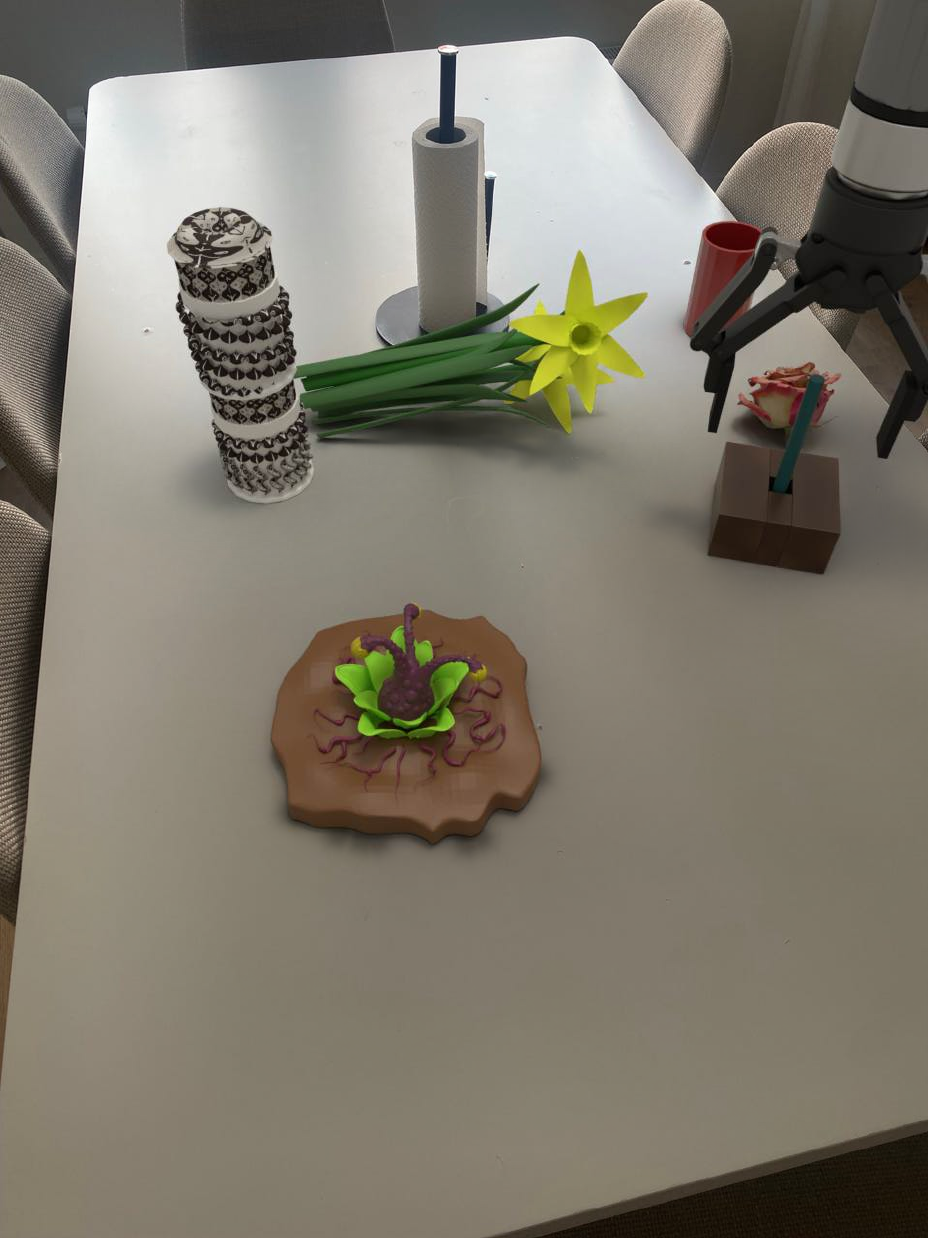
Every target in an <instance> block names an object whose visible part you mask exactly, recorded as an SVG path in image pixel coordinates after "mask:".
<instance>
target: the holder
mask: <svg viewBox="0 0 928 1238" xmlns="http://www.w3.org/2000/svg"><path fill="white" fill-rule="evenodd" d="M784 452H785V449H778V448H771V447H765V446H758V445H752V444H745V443H739V442H732V441H726V442H725V445H724V448H723V451H722V456H721V459H720V464H719V467H718V471H717V474H716V478H715V481H714V491H713V500H712V509H711V518H710V529H709V537H708V547H707V548H708V549H707V556H711V557H718V558H723V559H730V560H735V561H741V562H747V563H755V564H760V565H766V566H772V567H777V568H784V569H789V570H796V571H800V572H801V571H802V572H808V573H814V574H820V575H824V574H825V571H826V568H827V567H828V565H829V563H830V559H831V558H832V555H833V553H834V550H835V548H836V546H837V543H838V542H839V539H840V536H841V535H842V531H841V530H842V527H841V492H840V491H841V490H840V488H841V487H840V459H839V458H838V457H833V456H827V455H826V456H825V455H819V454H812V453H806V452H800V453H799V456H798V459H797V462H796V465H795V468H794V471H793V473H792V476H791V479H790V482H789V485H788V488H787V491H786V493H785V494H784V493H778V492H771V491H772V488H773V485H774V482H775V479H776V476H777V473H778V470H779V467H780V464H781V461H782V458H783V455H784Z"/></svg>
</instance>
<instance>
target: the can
mask: <svg viewBox="0 0 928 1238" xmlns="http://www.w3.org/2000/svg"><path fill="white" fill-rule="evenodd" d="M762 230H763V229H761V228H759V227H757V226H755V225H753V224H750V223H746V222H744V221H743V222H742V221H736V220H735V221H734V220H722V221H717V222H713V223H710V224H709V225H706V226H705V227H704V228H703V229H702V232H701V236H700V241H699V247H698V251H697V257H696V261H695V266H694V271H693V277H692V282H691V285H690V292H689V296H688V301H687V306H686V311H685V316H684V322H683V330H684V332H685V333H686V335H688V337H690V338H691V333H692V327H693V325H694V323H695V322H696V321H697V320H698V319H699V318H700V316H701V315H702V314H703V313H704V312H705V310H706V309H707V308H708V307H709V306H710V304H711V303H712V302H713V301H714V300H715V299H716V297H717V296H718V295H719V294H720V293H721V291H722V290H723V289H724V288H725V287H726V285H727V284H728V283H729V282H730V281H731V280H732V278H733V277H734V276H735V275H736V274H737V272H738V271H739V270H740V269H741V268H742V266H743V265H744V264H745V263H746V262H747V261H748V259H749V258H750V257H751V256H752V255H753V252H754V249H755V247H756V244H757V242H758V239H759V236H760V234H761V232H762ZM755 292H756V290H755V291H754V292H753V294H752V295H751V296H750V297H749V298H748V299H747V300H746V302H745V303H744V304H743V305H742V306H741V307H740V308H739V309H738V311H737V312H736V313H735V314H734V315H733V316H732V317H731V319H730V320H729V321H728V322H727V323H726V324H725V325H724V327H723V328H725V327H726V326H727V325H729V324H730V323H731V322H733V321H734V320H736V319H737V318H738V317H740V316H741V315H743V314H744V313H745V312H747V311H748V310H749V309H751V308H752V304H753V299H754V296H755ZM723 328H722V329H723ZM722 329H721V330H722Z"/></svg>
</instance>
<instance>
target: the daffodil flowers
mask: <svg viewBox="0 0 928 1238" xmlns="http://www.w3.org/2000/svg"><path fill="white" fill-rule="evenodd" d="M539 285H541V283H536V284H535V285H533V286H531V287H530V288H529V289H527V290H526V291H524V292H523V293H522V294H520V295H519V296H517V297H516V298H514V299H513V300H511V301H509V302H507V303H506V304H503V305H502V306H499V307H498V308H496V309H494V310H491V311H489V312H487V313H484V314H482V315H479V316H476V317H473V318H470V319H468V320H466V321H463V322H460V323H457V324H455V325H452V326H448V327H446V328H443V329H439V330H437V331H434V332H430V333H426V334H424V335H421V336H418V337H415V338H411V339H409V340H406V341H403V342H400V343H396V344H392V345H389V346H385V347H382V348H378V349H375V350H371V351H368V352H364V353H360V354H355V355H354V354H353V355H349V356H343V357H337V358H333V359H332V358H331V359H327V360H322V361H316V362H311V363H306V364H301V365H296V367H297V371H296V373H295V375H294V377H293V379H294V380H295V379H300V382H301V384H302V386H303V389H304V391H305V392H302V393H300V394H299V402H300V403H302V405H303V410H307V409H310V410H311V411H312V412H316V413H317V418H315V419H312V420H311V423H312V424H314V425H320V424H327V423H332V422H333V423H334V422H339V421H345V420H352V419H358V418H366V417H368V418H369V417H376V416H377V417H379V416H386V415H387V416H388V415H391V416H388V417H384V418H383V417H382V418H380V419H376V420H372V421H368V422H363V423H360V424H355V425H350V426H346V427H341V428H337V429H331V430H327V431H322V432H318V433H316V434H315V435H316V437H317V438H319V439H322V438H327V437H332V436H336V435H343V434H346V433H350V432H351V433H352V432H355V431H359V430H365V429H369V428H374V427H377V426H380V425H384V424H389V423H392V422H397V421H400V420H401V421H402V420H405V419H409V418H413V417H417V416H422V415H425V414H429V413H433V412H456V411H479V412H505V413H511V414H514V415H517V416H522V417H525V418H528V419H529V420H532V421H535V422H536V423H539V424H540V425H543V426H545V427H546V428H550V429H552V430H554V431H556V428H554V427H552V426H551V425H549V424H548V423H546V422H544V421H543V420H541V419H540V418H538V417H536V416H534V415H532V414H530V413H528V412H526V411H524V410H520V409H515V408H512V407H510V406H509V407H508V406H497V405H494V406H493V405H468V404H473V403H476V402H479V401H482V400H483V401H484V400H487V401H489V400H491V401H504V402H503V404H505V405H511V404H514V403H528V400H526V399H527V398H529V397H531V396H532V395H534V394H536V393H537V392H539V391H541V392H542V394H543V396H544V398H545V400H546V401H547V403H548V406H549V407H550V409H551V411H552V412H553V414H554V415H555V417H556V419H557V420H558V421H559V423H560V425H561V426H562V427H563V429H564V430H565V432H566V433H567V434H568V435H571V433H572V430H573V429H572V428H573V425H572V415H571V403H570V396H569V392H568V386H574V387H575V389H576V391H577V393H578V395H579V398H580V400H581V402H582V405H583V406H584V408H585V410H586V411H587V413H589V414H592V413H593V409H594V405H595V404H594V403H595V398H596V391H597V386H598V385H605V384H612V383H615V382H616V381H615V379H614V378H613V377H612V376H611V375H609V374H608V373H606V372H605V371H603V370H601V369H599V368H598V364H599V365H602V366H603V367H605V368H608V369H609V370H612V371H614V372H617V373H620V374H623V375H627V376H630V377H634V378H637V379H644V378H646V374H645V372H644V371H643V370H642V368H641V367H640V366H639V365H638V363H637V362H636V360H635V359H634V358H633V357H632V356H631V355H630V354H629V353H628V351H626V349H624V348H623V347H622V346H621V344H619V342H617V341H616V340H615V338H614V337H613V336H612V335H610V334H609V333H611V332H612V331H613V330H615V329H616V328H618V327H619V326H620V325H621V324H623V323H624V322H626V321H627V320H628V319H629V318H630V317H631V316H632V315H633V314H634V313H635V312H636V311H637V310H638V309H639V308H640V306H642V305H643V303H644V302H645V301H646V299H647V298H648V295H649V292H645V291H644V292H640V293H639V292H638V293H634V294H630V295H625V296H622V297H618V298H614V299H612V300H609V301H606V302H603V303H600V304H598V305H595V299H594V289H593V282H592V277H591V275H590V271H589V268H588V264H587V261H586V257H585V255H584V253H583V252H582V250H581V249H578V250H577V252H576V254H575V258H574V262H573V265H572V269H571V273H570V276H569V281H568V287H567V293H566V297H565V305H564V310H563V311H562V312H560V313H559V314H548V312H547V310H546V307H545V306H544V303H543V301H542V300H540V299H539V300H538V302H537V304H536V307H535V310H534V313H533V314H532V315H527V316H522V317H519V318H515V319H514V320H513V319H512V320H511V321H510V322H508V325H507V326H506V327H504V328H503V330H501V331H496V332H487V333H485V332H484V333H479V334H472V335H466V334H468V333H471V332H473V331H476V330H479V329H481V328H485V327H487V326H489V325H492V324H495V323H497V322H499V321H501V320H502V319H504V318H505V317H507V316H509V315H510V314H512V313H514V311H516V310H517V309H518V308H519V307H520V306H521V305H523V303H525V301H527V300H528V299H529V297H531V295H532V294H533V293H534V292H535V291H536V289H537V288H538V287H539ZM509 327H511V328H512V329H511V330H509V331H507V330H508V328H509ZM463 335H466V336H463ZM507 363H508V364H507ZM505 364H507V365H505ZM497 383H498V384H499V383H500V384H501V383H504V384H501V385H499V386H498V387H495V388H492V387H490V386H485V385H489V384H497ZM512 386H513V387H512ZM511 387H512V389H511V390H510V391H509V393H506V392H504V391H506V390H508V389H509V388H511ZM436 403H441V404H436ZM425 404H436V405H432V406H420V407H404V406H412V405H425ZM394 407H396V408H394ZM397 407H402V408H397ZM387 408H393V409H387ZM380 409H382V410H380Z"/></svg>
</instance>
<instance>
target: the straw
mask: <svg viewBox="0 0 928 1238" xmlns="http://www.w3.org/2000/svg"><path fill="white" fill-rule="evenodd" d="M821 375H822V374H820V375H817V374H814V375H811V376H810V377H809V380H808V383H807V386H806V389H805V392H804V395H803V398H802V401H801V404H800V407H799V410H798V413H797V416H796V419H795V422H794V425H793V428H792V431H791V434H790V437H789V440H788V443H787V446H786V445H785V449H784V450H785V452H784V455H783V458H782V461H781V464H780V467H779V470H778V473H777V476H776V479H775V482H774V485H773V488H772V491H771V492H778V493H784V494H785V493H786V491H787V488H788V485H789V482H790V479H791V476H792V473H793V471H794V468H795V465H796V462H797V459H798V456H799V453H801V451H802V448H803V445H804V442H805V439H806V436H807V433H808V431H809V425H810V422H811V419H812V416H813V414H814V411H815V408H816V405H817V402H818V399H819V396H820V394H821V391H822V388H823V385H824V382H825V378H824V377H823V376H821Z"/></svg>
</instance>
